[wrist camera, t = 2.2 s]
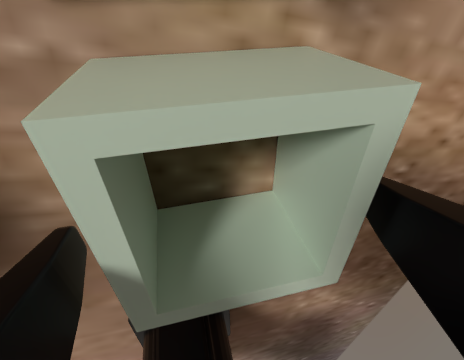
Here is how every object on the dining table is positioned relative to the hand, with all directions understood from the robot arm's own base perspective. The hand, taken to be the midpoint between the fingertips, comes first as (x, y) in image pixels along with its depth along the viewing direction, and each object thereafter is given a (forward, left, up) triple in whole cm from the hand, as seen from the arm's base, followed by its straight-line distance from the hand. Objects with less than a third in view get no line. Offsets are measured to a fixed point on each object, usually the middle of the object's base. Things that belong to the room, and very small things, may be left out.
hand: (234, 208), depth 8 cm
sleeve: (0, 0, -4) cm, 4 cm away
